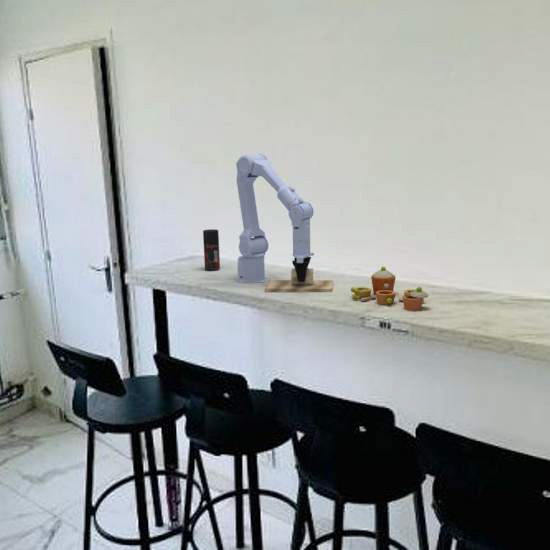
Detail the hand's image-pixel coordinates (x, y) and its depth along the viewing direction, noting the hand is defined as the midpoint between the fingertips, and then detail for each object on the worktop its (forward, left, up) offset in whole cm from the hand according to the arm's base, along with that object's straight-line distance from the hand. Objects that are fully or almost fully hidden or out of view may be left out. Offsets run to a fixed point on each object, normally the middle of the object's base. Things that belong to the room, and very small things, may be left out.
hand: (302, 280), depth 201 cm
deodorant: (-38, +31, -3) cm, 49 cm away
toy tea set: (+29, -17, -3) cm, 34 cm away
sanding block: (0, 0, -2) cm, 2 cm away
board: (-1, 0, -3) cm, 3 cm away
